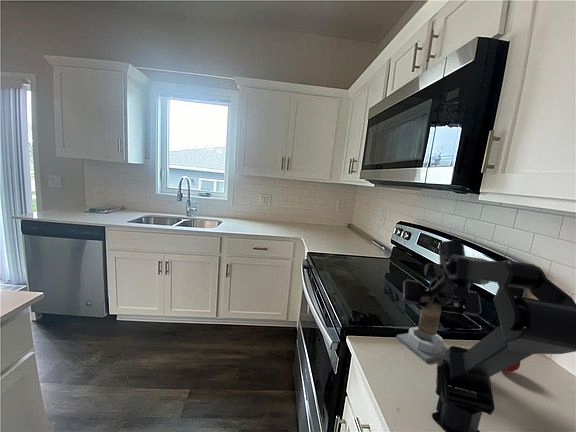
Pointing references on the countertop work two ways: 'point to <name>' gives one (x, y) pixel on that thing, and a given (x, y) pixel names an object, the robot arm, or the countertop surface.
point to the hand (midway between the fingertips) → (430, 307)
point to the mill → (429, 318)
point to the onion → (512, 367)
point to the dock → (419, 353)
